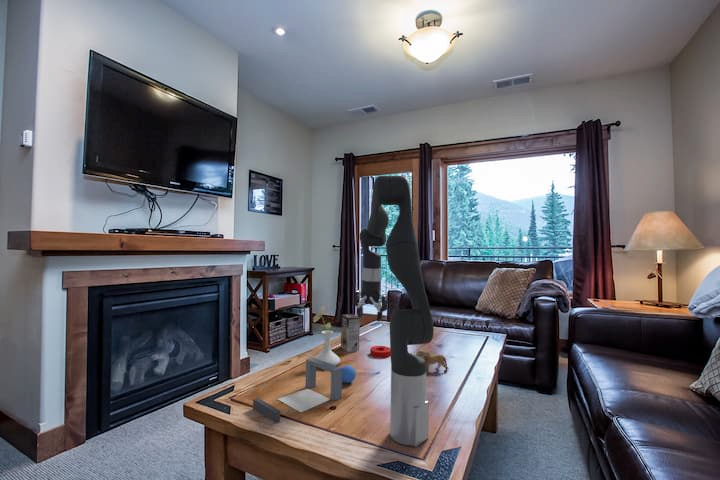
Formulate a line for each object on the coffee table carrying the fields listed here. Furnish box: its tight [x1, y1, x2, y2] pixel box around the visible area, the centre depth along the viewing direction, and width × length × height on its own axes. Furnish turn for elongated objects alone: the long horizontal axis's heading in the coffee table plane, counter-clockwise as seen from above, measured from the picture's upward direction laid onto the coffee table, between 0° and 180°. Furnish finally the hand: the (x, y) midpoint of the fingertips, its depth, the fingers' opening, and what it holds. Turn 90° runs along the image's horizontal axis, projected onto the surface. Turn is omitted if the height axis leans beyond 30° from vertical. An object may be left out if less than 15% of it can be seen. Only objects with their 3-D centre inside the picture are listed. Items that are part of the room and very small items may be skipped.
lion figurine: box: [415, 349, 449, 374], centre depth 137 cm, size 15×5×9 cm, turn 108°
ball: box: [341, 364, 357, 384], centre depth 124 cm, size 6×6×6 cm
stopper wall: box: [252, 397, 281, 424], centre depth 99 cm, size 12×2×3 cm, turn 48°
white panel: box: [277, 387, 331, 413], centre depth 109 cm, size 12×12×1 cm
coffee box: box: [340, 313, 361, 353], centre depth 165 cm, size 9×6×16 cm
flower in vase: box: [312, 305, 341, 366], centre depth 141 cm, size 13×11×25 cm
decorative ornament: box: [369, 345, 391, 359], centre depth 157 cm, size 10×10×3 cm
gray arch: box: [304, 357, 343, 402], centre depth 115 cm, size 3×15×10 cm, turn 47°
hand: (369, 318), depth 136 cm, fingers open, 8 cm apart
